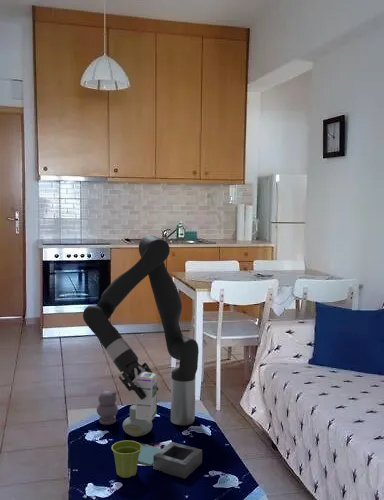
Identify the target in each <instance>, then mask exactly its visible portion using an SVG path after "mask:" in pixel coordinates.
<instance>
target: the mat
mask: <svg viewBox="0 0 384 500" xmlns="http://www.w3.org/2000/svg"><path fill="white" fill-rule="evenodd" d="M140 444H141V445H142V449H141V450H140V454H139V458H138V463H139V464H142V465H146V466H148V467H153V456H154V455H155V454H157V453H158V452H159V451H160V450H162V449H163V448H159V447H157V446H156V447H155V446H152V445H148V444H145V443H140Z"/></svg>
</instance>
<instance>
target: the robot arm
mask: <svg viewBox="0 0 384 500" xmlns="http://www.w3.org/2000/svg"><path fill="white" fill-rule="evenodd" d="M170 251H171V248H170V245H169V243H168V242H167V241H166V239H163V238H161V237H158V236H156V235H152V234H151V235H149V234H148V235H144V236H143V237H142V238H141V239H140V241H139V243H138V253H139V255H140V259H139V260H138V261H137V262H136V263H135V264H134V265H132V266H131V267H130V268H129V269H128V270H126V271H125V272H123V273H121V274H120V275H118V277H116V278H115V279H114V280H113V281H112V282H111V283H110V284H109V285H108V286H107V288H106V289H105V290H104V291H102V294H101V296H100V300H98V302H97V304H96V305H95V304H92V305H91V304H90V305H88V306H87V307H85V309H84V310H83V313H82V318H83V321H84V323H85V324H86V326H87V327H88V328H89V329H90V331H91V332H93V334H94V335H95V336H96V338H97V339H98V340H99V343H100V344H101V345H102V347H103V348H104V350H105V351H106V353H107V354H108V357H109V358H110V359H111V361H112V362H113V364H114V365H115V367H116V368H117V369H118V371H119V372H120V375H119V376H118V378H119V380H120V381H121V383H122V384H123V386H124V387H125V388H126V389H127V391H128V392H131V391H133V392H135V395H136V394H137V395H138V397H139V398H140V399H141V400H143V399H144V398H145V397H146V394H145V393H144V391H143V390H142V388H141V387H139V383H138V382H137V379H136V377H137V376H138V375H139V374H140V373H141V372H152V373H154V372H153V371H152V369H151V368H150V367H149V365H148V364H147V362H144V363H142V364H141V363H140V362H139V357H138V356H137V354H136V352H134V350H133V349H132V347H131V346H130V344H129V343H128V342H127V341H126V339H124V338H123V336H122V335H121V333H120V331H118V329H117V328H116V327H115V326H114V325H113V324H112V323H111V321H110V320H109V319H110V318H111V317H112V315H113V313H114V312H115V310H116V308H117V307H118V306H119V305H120V304H121V303H122V302H123V301H124V300H125V299H126V298H127V297H128V295H129V294H130V293H131V292H132V290H134V289H135V288H136V287H137V285H139V284H140V283H141V282H142V281H144V279H145V278H146V277H147V276H148V279H149V283H150V286H151V287H150V288H151V289H152V290H151V291H152V295H153V298H154V302H155V305H156V308H157V311H158V314H159V317H160V321H161V325H162V328H163V332H164V338H165V339H164V340H165V343H166V349H167V353H168V354H169V356H170V357H171V358H173V359H175V360H178V361H179V367H176V368H174V369H172V370H171V383H170V384H171V387H170V388H171V391H170V392H171V393H170V394H171V395H170V422H171V423H172V424H174V425H178V426H189V425H192V424H193V423H195V419H196V374H197V371H198V367H199V365H198V363H199V354H200V353H199V352H200V351H199V350H200V349H199V344H198V342H197V340H195V339H194V338H191V337H187V336H184V335H183V333H182V330H181V327H180V318H181V314H182V313H181V312H182V310H183V309H182V308H183V307H182V301H181V297H180V293H179V290H178V287H177V286H176V283H175V282H174V280H173V278H172V277H171V275H170V273H169V271H168V270H167V266H166V264H165V261H167V259H168V257H169V255H170ZM121 373H122V374H121ZM157 391H159V388H158V386H157Z"/></svg>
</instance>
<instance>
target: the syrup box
mask: <svg viewBox="0 0 384 500" xmlns="http://www.w3.org/2000/svg"><path fill="white" fill-rule="evenodd" d="M152 372H153V371H152ZM152 372H141V373H140V374H139V375H138V376H137V377H136V379H137V382H138V383H139V387H141V388H142V390H143V391H144V393H145V394H146V397H145V398H144V399H143V400H141V399H140V398H139V397H138V395H137V394H136V393H135V404H136V419H140V420H149V421H153V420H154V419H155V417H156V415H157V413H158V412H157V410H158V409H157V404H158V403H157V400H158V399H157V393H158V390H157V387H158V385H157V382H158V381H157V380H158V375H157V373H156V372H153V373H152Z"/></svg>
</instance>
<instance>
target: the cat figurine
mask: <svg viewBox="0 0 384 500" xmlns="http://www.w3.org/2000/svg"><path fill="white" fill-rule="evenodd" d="M97 399H98V404H97V407H96V413H97V415H98V416H99V419H98V420H99V421H98V422H99V423H100V424H101V425H107V426H108V425H113V424H114V423H116V421H117V420H116V419H117V418H116V415H117V414H118V411H119V407H118V405H117V404H116V401H117V392H113V391H111V390H105V389H104V388H102V389H101V393H99V395H98V397H97Z"/></svg>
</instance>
